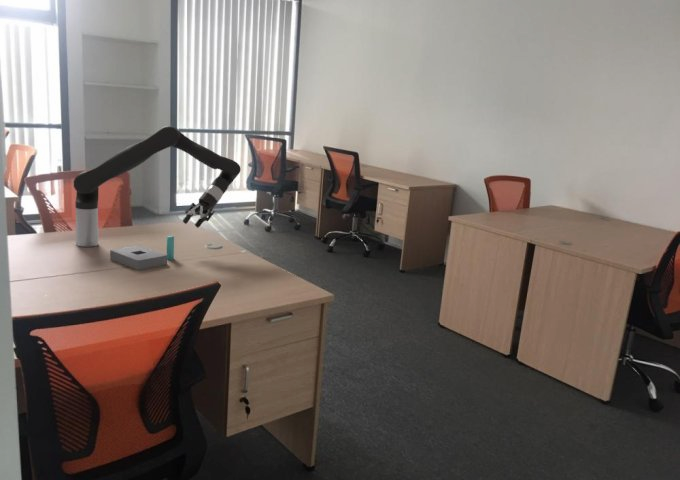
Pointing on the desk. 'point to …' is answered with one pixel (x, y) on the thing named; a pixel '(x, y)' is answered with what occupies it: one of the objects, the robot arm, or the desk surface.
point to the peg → (170, 247)
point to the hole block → (138, 257)
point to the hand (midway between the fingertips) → (190, 224)
